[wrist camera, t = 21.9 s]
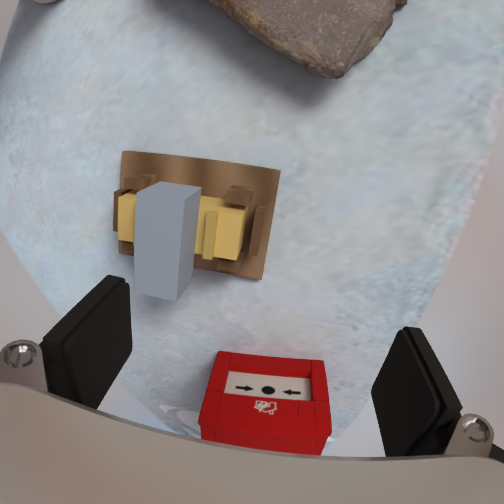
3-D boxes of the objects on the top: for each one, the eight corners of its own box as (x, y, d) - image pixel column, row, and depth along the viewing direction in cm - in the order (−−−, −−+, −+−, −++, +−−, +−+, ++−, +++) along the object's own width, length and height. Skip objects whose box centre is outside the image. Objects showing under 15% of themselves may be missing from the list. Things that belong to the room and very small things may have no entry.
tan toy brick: (138, 224, 41) (113, 242, 34) (140, 187, 39) (114, 199, 33) (243, 241, 41) (235, 264, 34) (248, 202, 39) (241, 218, 32)
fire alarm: (324, 357, 47) (333, 434, 33) (312, 404, 51) (315, 475, 37) (218, 348, 48) (196, 421, 34) (218, 395, 52) (200, 465, 38)
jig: (122, 250, 44) (103, 265, 39) (125, 150, 39) (105, 154, 33) (262, 276, 43) (258, 296, 38) (280, 170, 38) (280, 176, 33)
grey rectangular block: (154, 267, 36) (134, 292, 31) (160, 181, 33) (136, 192, 27) (192, 275, 36) (176, 302, 31) (201, 187, 32) (184, 199, 27)
